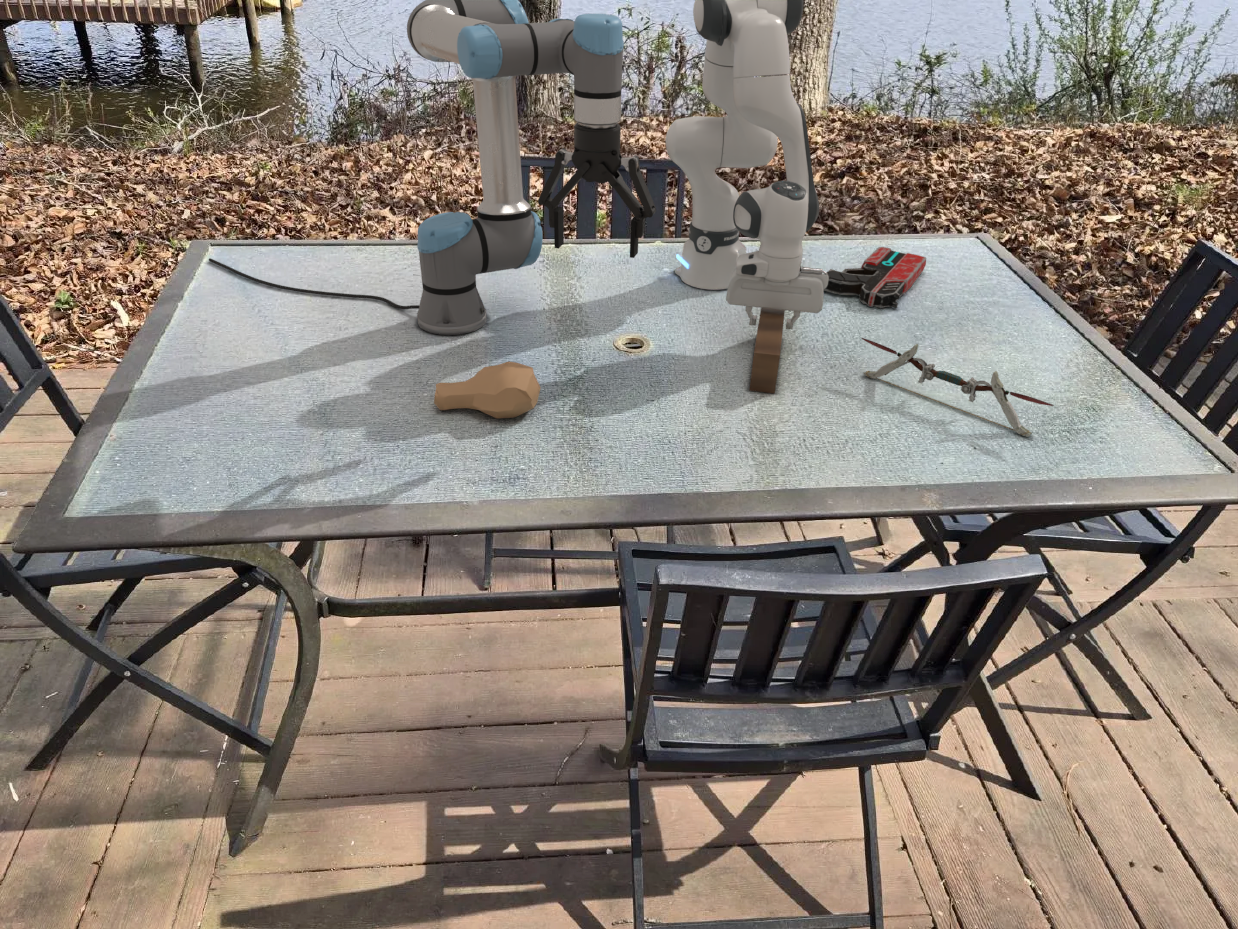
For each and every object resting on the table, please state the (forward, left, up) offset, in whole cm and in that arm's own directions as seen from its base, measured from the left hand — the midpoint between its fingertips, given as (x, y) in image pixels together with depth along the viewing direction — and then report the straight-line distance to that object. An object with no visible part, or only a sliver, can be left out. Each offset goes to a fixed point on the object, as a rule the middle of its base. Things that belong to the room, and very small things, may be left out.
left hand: (596, 250), depth 153 cm
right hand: (+8, +44, -25) cm, 51 cm away
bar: (+13, +37, -30) cm, 49 cm away
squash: (-10, -18, -30) cm, 36 cm away
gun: (+4, +93, -30) cm, 98 cm away
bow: (+47, +49, -30) cm, 74 cm away
